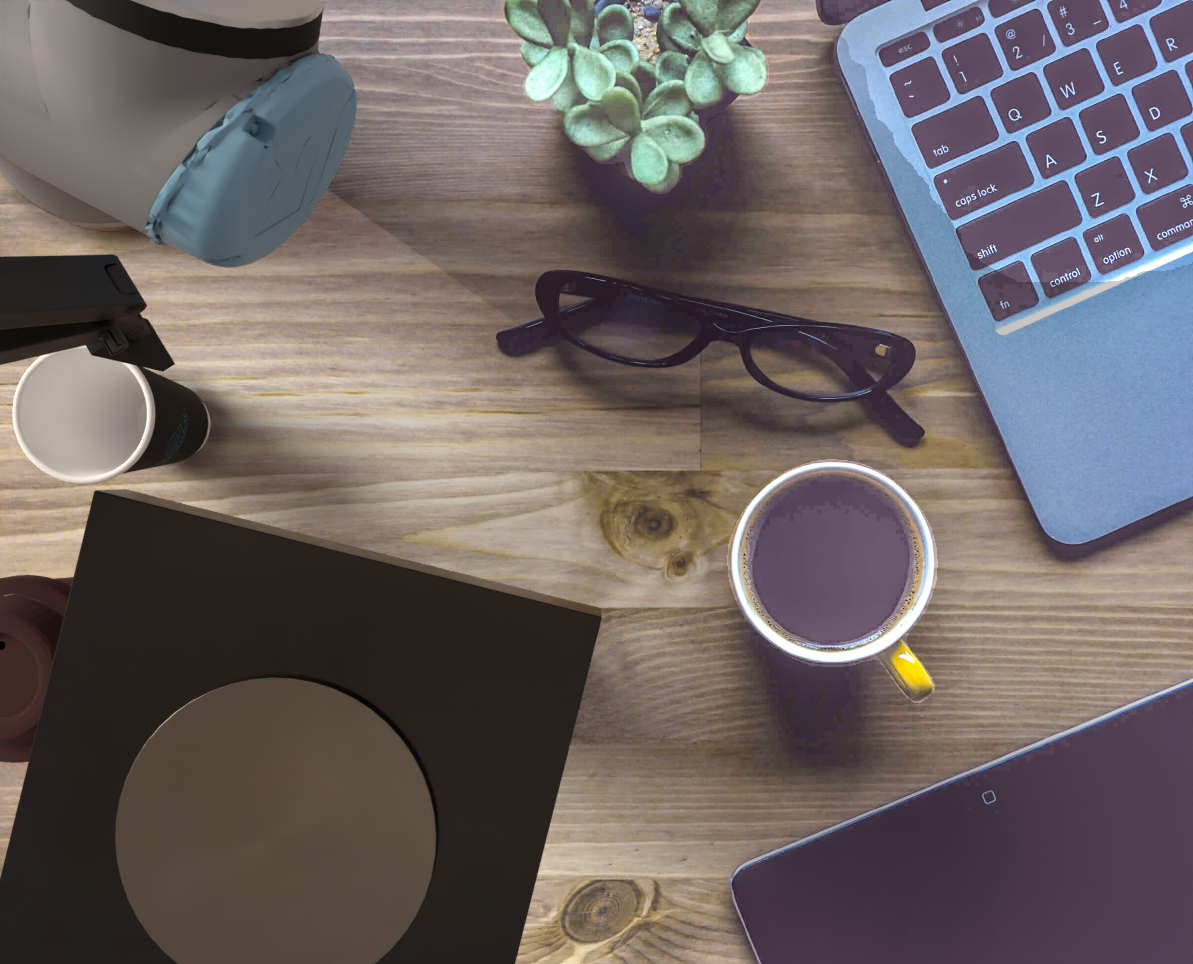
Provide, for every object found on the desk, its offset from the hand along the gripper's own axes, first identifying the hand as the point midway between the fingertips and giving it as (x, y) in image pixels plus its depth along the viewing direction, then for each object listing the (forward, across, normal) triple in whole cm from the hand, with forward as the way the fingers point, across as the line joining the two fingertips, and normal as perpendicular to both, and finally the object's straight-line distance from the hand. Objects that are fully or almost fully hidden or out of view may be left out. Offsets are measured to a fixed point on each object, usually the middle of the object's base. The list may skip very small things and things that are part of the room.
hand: (44, 413), depth 46 cm
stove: (-14, +7, -22) cm, 27 cm away
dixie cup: (+14, 0, 0) cm, 15 cm away
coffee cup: (+14, -9, -10) cm, 20 cm away
